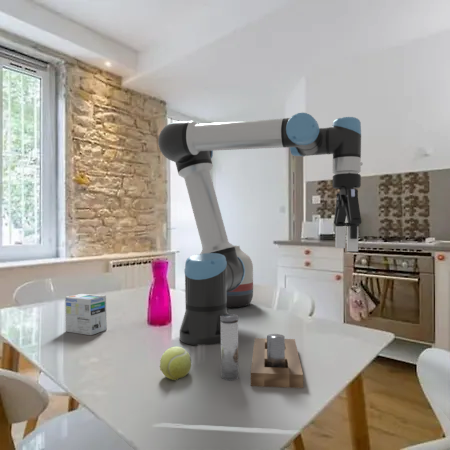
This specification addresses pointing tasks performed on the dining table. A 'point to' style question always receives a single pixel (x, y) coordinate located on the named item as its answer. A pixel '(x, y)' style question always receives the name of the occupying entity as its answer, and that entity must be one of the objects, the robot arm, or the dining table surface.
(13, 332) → the dining table surface
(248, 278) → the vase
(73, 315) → the light bulb box
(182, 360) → the tennis ball
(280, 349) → the seated stud
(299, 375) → the socket board
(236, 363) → the stud
